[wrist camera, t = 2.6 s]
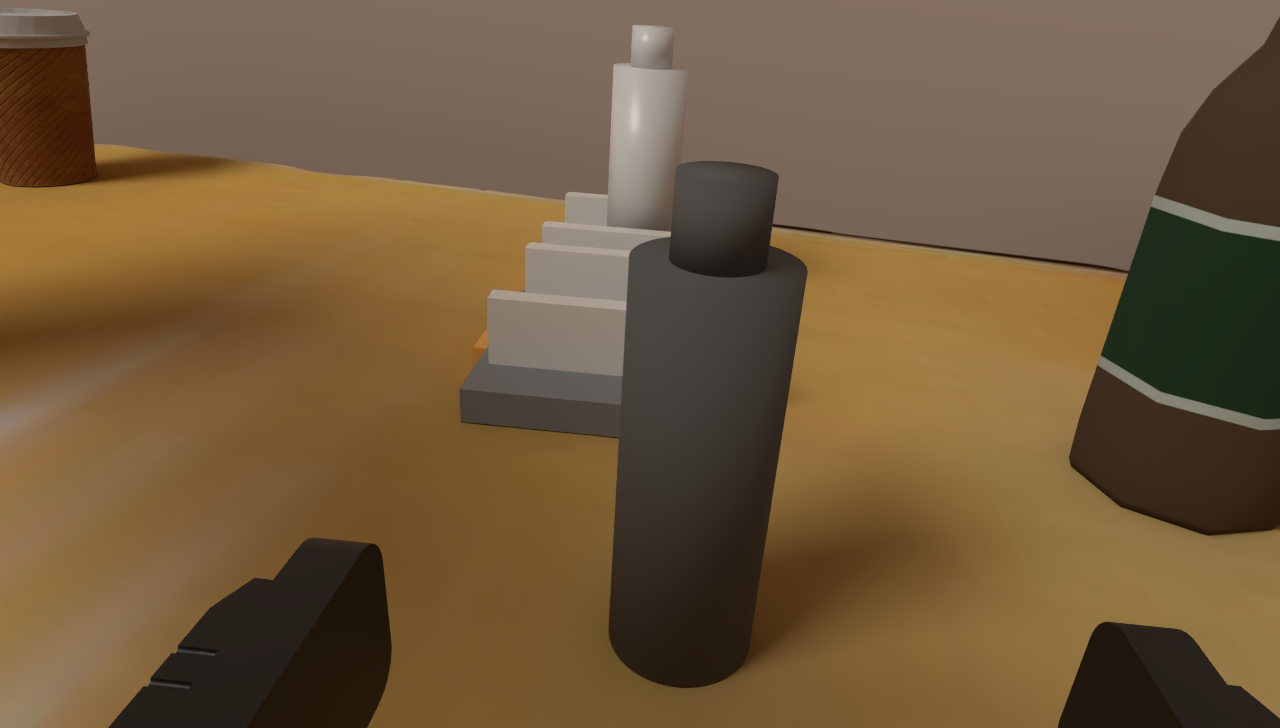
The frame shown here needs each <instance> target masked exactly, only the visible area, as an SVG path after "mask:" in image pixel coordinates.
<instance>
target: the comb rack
mask: <svg viewBox="0 0 1280 728" xmlns="http://www.w3.org/2000/svg"><path fill="white" fill-rule="evenodd" d="M607 206H608V195H601V194H589V193H576V192H568V193H567V194H566V197H565V223H561V222H549V221H546V222H545V223H544V224H543V225H542V243H534V242H529V244H528V245H527V246H526V248H525V291H524V292H515V291H504V290H493V291H492V292H491V293H490V295H489V296H488V297H487V320H488V327H487V328H486V330H485V331H484V332H483V334H482V335H481V337H480V338H479V340H478V341H477V342H476V344H475V345H474V347H473V355H474V368H473V370H472V371H471V373H470V374H469V376H468V377H467V379H466V380H465V382H464V383H463V385H462V386H461V388H460V409H461V422H469V423H479V424H489V425H499V426H509V427H519V428H529V429H539V430H549V431H559V432H569V433H579V434H589V435H599V436H609V437H619V432H620V413H621V395H622V377H623V358H624V340H625V322H626V304H627V285H628V267H629V254H630V252H631V250H632V249H633V248H635V247H636V246H637V245H639V244H642V243H644V242H647V241H650V240H654V239H658V238H664V237H671V232H668V231H656V230H644V229H633V228H621V227H609V226H607Z"/></svg>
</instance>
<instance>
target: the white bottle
mask: <svg viewBox="0 0 1280 728" xmlns="http://www.w3.org/2000/svg"><path fill="white" fill-rule="evenodd" d="M632 31H633V32H632V48H631V63H619V64H614V69H613V92H612V115H611V116H612V117H611V140H610V162H609V184H608V206H607V226H609V227H621V228H633V229H644V230H656V231H668V232H671V225H672V212H673V199H674V186H675V173H676V167H677V166H678V165H680V164H681V157H682V145H683V132H684V121H685V109H686V96H687V84H688V72H689V70H688V69H686V68H682V67H676V66H672V59H673V46H674V44H673V43H674V32H675V28H673V27H663V26H651V25H633V30H632Z"/></svg>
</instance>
